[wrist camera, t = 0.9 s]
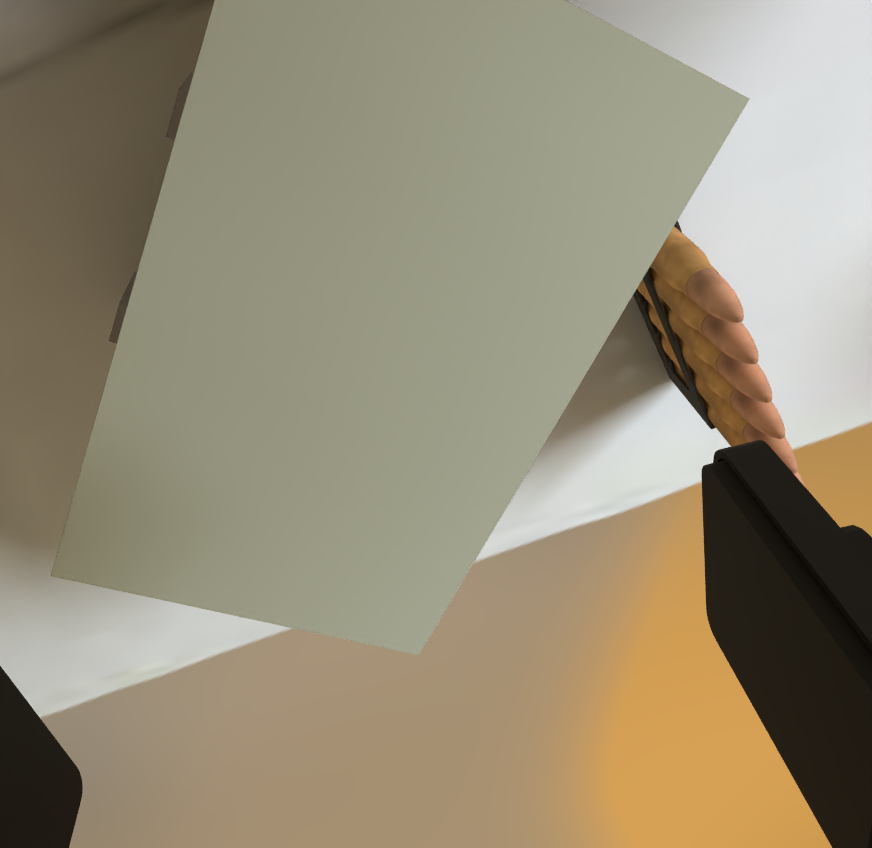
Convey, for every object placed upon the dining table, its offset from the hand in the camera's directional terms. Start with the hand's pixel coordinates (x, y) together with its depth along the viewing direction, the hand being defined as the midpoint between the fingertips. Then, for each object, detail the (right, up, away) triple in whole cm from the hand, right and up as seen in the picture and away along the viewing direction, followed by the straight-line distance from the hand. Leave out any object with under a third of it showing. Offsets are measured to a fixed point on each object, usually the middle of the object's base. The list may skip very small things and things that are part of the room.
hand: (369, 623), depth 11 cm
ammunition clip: (+11, +9, +27) cm, 31 cm away
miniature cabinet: (-3, +13, +23) cm, 26 cm away
